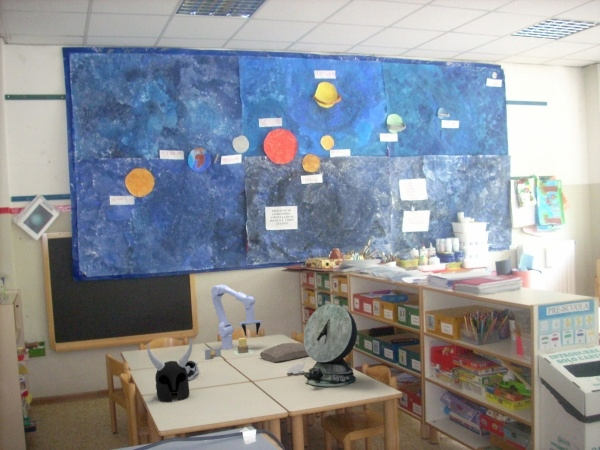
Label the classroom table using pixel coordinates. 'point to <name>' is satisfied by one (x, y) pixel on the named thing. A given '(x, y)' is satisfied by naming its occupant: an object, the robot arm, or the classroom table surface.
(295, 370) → the figurine
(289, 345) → the stone tablet
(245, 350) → the base block
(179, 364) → the helmet
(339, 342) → the sundial
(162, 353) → the classroom table surface
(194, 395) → the classroom table surface
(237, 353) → the build plate
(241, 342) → the brick
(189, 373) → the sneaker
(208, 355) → the tile
